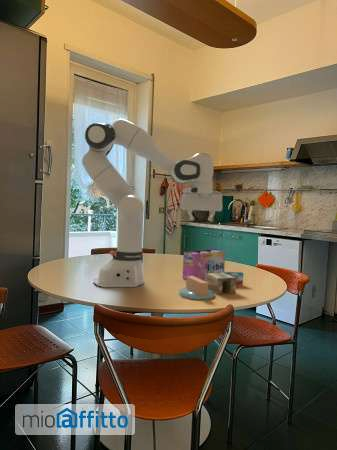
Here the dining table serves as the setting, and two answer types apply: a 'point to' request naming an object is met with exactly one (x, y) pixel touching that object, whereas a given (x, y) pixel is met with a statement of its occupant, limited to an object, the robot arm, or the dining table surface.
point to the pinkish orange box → (197, 285)
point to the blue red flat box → (236, 274)
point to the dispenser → (220, 282)
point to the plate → (191, 295)
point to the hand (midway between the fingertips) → (201, 220)
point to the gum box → (203, 263)
